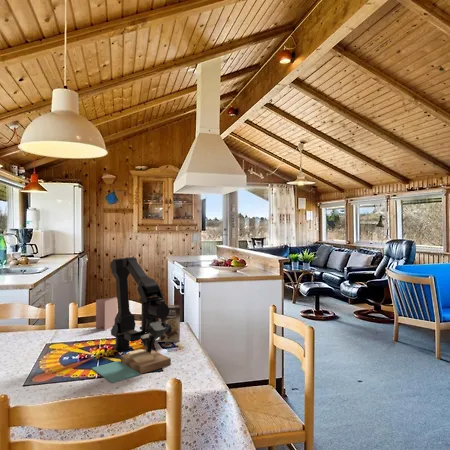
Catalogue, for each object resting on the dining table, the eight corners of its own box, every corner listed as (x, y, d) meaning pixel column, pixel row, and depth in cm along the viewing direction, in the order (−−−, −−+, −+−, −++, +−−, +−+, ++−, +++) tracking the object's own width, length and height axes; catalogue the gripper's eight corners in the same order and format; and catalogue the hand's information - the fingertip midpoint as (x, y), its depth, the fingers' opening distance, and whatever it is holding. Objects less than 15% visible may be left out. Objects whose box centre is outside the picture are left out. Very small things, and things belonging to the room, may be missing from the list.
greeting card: (116, 324, 203) (116, 296, 203) (121, 327, 198) (122, 299, 198) (95, 328, 196) (95, 299, 196) (100, 331, 190) (100, 301, 190)
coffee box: (160, 343, 172) (160, 308, 172) (159, 339, 178) (159, 305, 178) (180, 341, 174) (180, 307, 174) (178, 337, 180) (178, 304, 180)
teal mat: (91, 368, 141) (91, 367, 141) (118, 361, 149) (118, 360, 149) (112, 383, 129) (112, 382, 129) (140, 374, 136) (140, 373, 136)
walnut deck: (120, 361, 149) (120, 355, 149) (149, 354, 157) (149, 348, 157) (141, 373, 137) (141, 367, 137) (170, 365, 146) (170, 358, 145)
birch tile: (127, 357, 147) (127, 352, 147) (141, 353, 151) (141, 348, 151) (139, 363, 140) (139, 358, 140) (153, 359, 144) (153, 354, 144)
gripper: (138, 322, 136) (138, 365, 136) (180, 314, 148) (180, 353, 148) (123, 316, 144) (123, 357, 144) (164, 309, 157) (164, 346, 157)
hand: (148, 353), depth 148 cm, fingers closed
